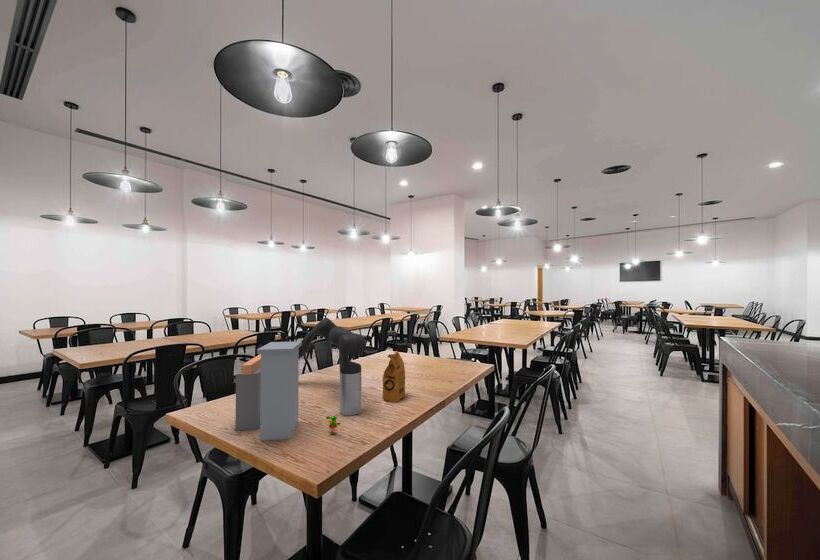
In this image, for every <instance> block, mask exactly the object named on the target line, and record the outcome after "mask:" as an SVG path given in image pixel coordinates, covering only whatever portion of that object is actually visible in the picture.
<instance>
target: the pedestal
mask: <svg viewBox="0 0 820 560" xmlns="http://www.w3.org/2000/svg"><path fill="white" fill-rule="evenodd" d="M300 341H301V342H300ZM300 341H271V342H269V343H267V344H265V345H262V346H263V347H261V348H259V349H257V348H256V354H257V355H259V354H261V407H260V427H259V429H260V431H259V432H260V433H259V434H260V435H259V439H260V440H259V441H260V442H261V441H263V442H264V441H277V440H281V441H282V440H290V439H291V438H292V437H293V436H292V435H293V434H294V432H295V430H296V429H297V426H298V424H299V374H300V373H299V368H300V367H299V363H300V362H299V360H300V359H299V347H300V346H301V345H302V340H300Z"/></svg>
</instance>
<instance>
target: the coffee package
mask: <svg viewBox="0 0 820 560" xmlns="http://www.w3.org/2000/svg"><path fill="white" fill-rule="evenodd" d="M387 358H390V360H389V361H388V364H387V366H386V368H385V369H384V371H383V375H382V400H383V401H385V402H389V401H391V403H399V402H400V400H403V399H404V398H405V396H406V371H405V370H406V369H405V363H404V361H403V358H402V356H401V354H400V352H399V351H398V350H395V351H394V353H391V354H388V355H387ZM402 398H403V399H402Z"/></svg>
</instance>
